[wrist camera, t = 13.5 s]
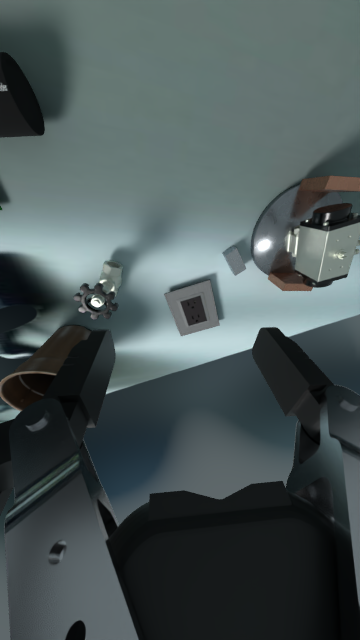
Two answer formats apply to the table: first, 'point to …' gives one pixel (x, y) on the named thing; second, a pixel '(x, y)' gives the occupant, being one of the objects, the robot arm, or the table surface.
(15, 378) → the plant pot
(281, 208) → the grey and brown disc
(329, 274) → the pneumatic valve
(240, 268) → the grey rectangular block
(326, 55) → the table surface
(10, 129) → the circuit board with cylinder
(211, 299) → the electrical outlet
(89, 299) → the valve
